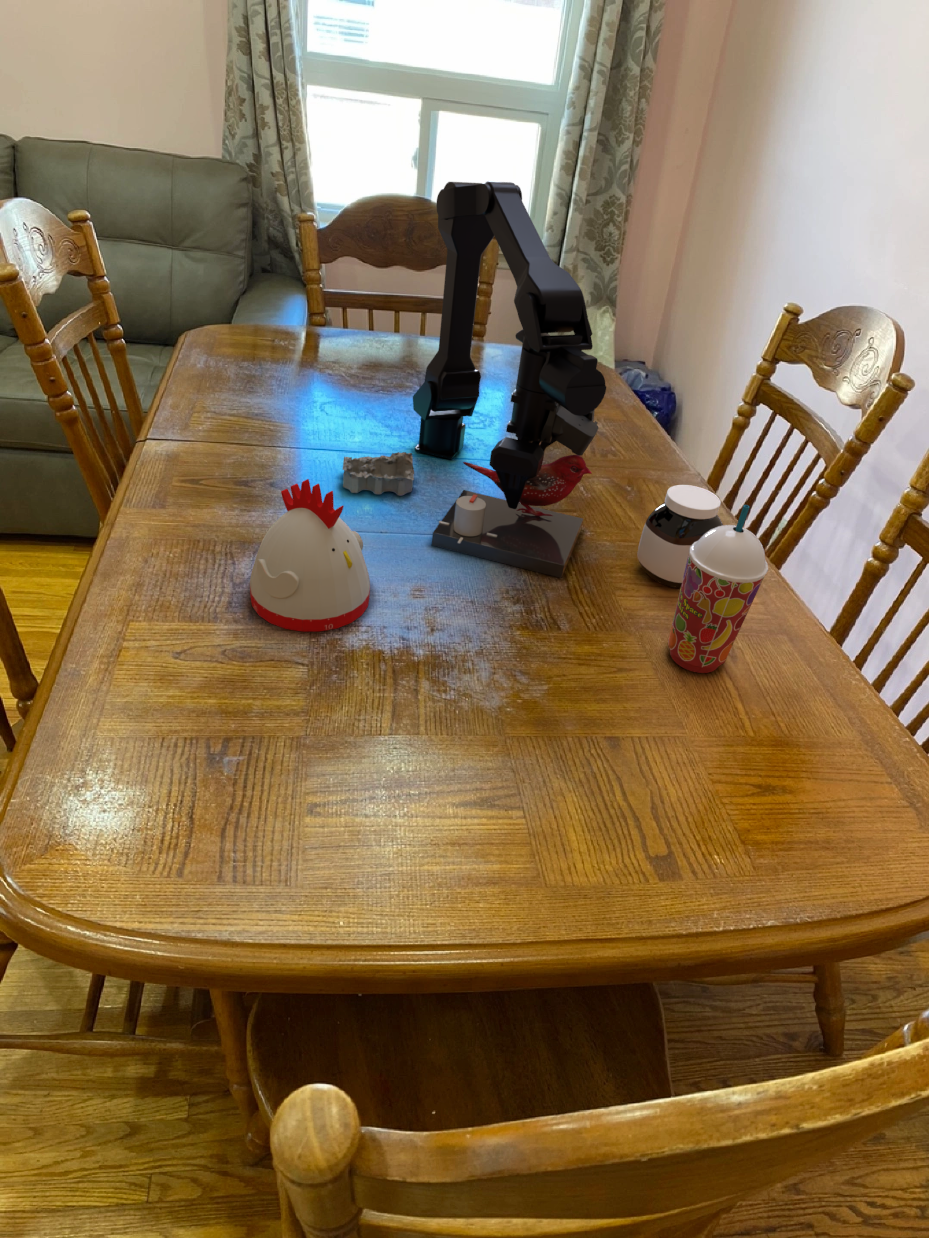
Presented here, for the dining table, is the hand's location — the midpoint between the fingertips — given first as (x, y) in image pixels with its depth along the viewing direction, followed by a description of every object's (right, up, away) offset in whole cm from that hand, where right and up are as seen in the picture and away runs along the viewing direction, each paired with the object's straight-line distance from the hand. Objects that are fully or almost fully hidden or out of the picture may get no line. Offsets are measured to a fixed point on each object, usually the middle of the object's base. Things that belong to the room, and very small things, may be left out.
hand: (520, 494), depth 115 cm
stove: (-2, -6, 0) cm, 6 cm away
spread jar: (+20, -10, -2) cm, 23 cm away
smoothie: (+19, -22, -19) cm, 35 cm away
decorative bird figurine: (0, -2, +2) cm, 3 cm away
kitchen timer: (-26, -15, -17) cm, 35 cm away
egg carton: (-21, +3, +9) cm, 23 cm away
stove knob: (-7, -5, -4) cm, 10 cm away
